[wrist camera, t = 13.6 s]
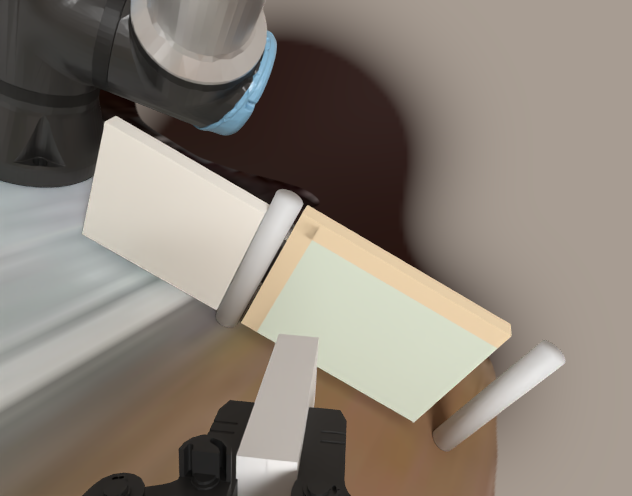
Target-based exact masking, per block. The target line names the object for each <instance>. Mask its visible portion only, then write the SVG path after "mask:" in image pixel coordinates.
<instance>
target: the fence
mask: <svg viewBox="0 0 632 496" xmlns="http://www.w3.org/2000/svg"><path fill="white" fill-rule="evenodd" d="M302 206H303V202H302V200H301V198H300V197H299V196H298V195H297V194H295V193H294V192H292V191H289V190H285V189H281V190H278V191H277V192H276V194H275V196H274V198H273V200H272V202H271V204H270V205H269V204H267V203H265V202H264V201H262V200H260V199H259V198H257V197H255V196H253V195H252V194H250V193H248V192H246V191H245V190H243V189H241V188H240V187H238V186H236V185H234V184H233V183H231V182H229V181H227V180H226V179H224V178H222V177H221V176H219V175H217V174H215V173H214V172H212V171H210V170H209V169H207V168H205V167H203V166H202V165H200V164H198V163H196V162H195V161H193V160H191V159H190V158H188V157H186V156H184V155H183V154H181V153H179V152H177V151H176V150H174V149H172V148H171V147H169V146H167V145H165V144H164V143H162V142H160V141H158V140H157V139H155V138H153V137H152V136H150V135H148V134H146V133H145V132H143V131H141V130H140V129H138V128H136V127H134V126H133V125H131V124H129V123H127V122H126V121H124V120H122V119H121V118H119V117H117V116H115V117H113V118H111V119H109V120H107V121H105V124H104V129H103V134H102V139H101V144H100V149H99V154H98V158H97V163H96V168H95V173H94V178H93V183H92V188H91V193H90V198H89V203H88V208H87V212H86V217H85V222H84V227H83V232H82V234H83V235H84V236H86V237H88V238H90V239H91V240H93V241H95V242H97V243H99V244H100V245H102V246H104V247H106V248H107V249H109V250H111V251H113V252H114V253H116V254H118V255H120V256H121V257H123V258H125V259H127V260H129V261H130V262H132V263H134V264H136V265H137V266H139V267H141V268H143V269H144V270H146V271H148V272H150V273H151V274H153V275H155V276H157V277H158V278H160V279H162V280H164V281H166V282H167V283H169V284H171V285H173V286H174V287H176V288H178V289H180V290H181V291H183V292H185V293H187V294H188V295H190V296H192V297H194V298H196V299H197V300H199V301H201V302H203V303H204V304H206V305H208V306H210V307H211V308H213V309H215V310H217V309H218V310H217V312H216V320H217V321H218V323H219V324H221V325H222V326H224V327H229V328H230V327H234V326H236V325H237V324H238V322H239V320H240V318H241V316H242V315H243V313H244V311H245V309H246V307H247V305H248V304H249V302H250V300H251V298H252V296H253V295H254V293H255V291H256V289H257V287H258V286H259V284H260V282H262V283H264V281H265V279H266V277H267V276H268V274H269V272H270V270H271V268H272V267H273V265H274V263H275V261H276V259H277V258H278V256H279V254H280V252H281V251H282V249H283V247H284V245H285V243H286V242H287V241H286V240H284V238H285V237H286V235H287V233H288V231H289V229H290V228H291V226H292V224H293V222H294V220H295V218H296V217H297V215H298V213H299V211H300V210H301V208H302ZM564 363H565V357H564V355H563V353H562V352H561V351H560V349H559V348H558V347H557V346H555V345H554V344H553V343H551V342H549V341H547V340H543V341H541V342H540V343H539V344H538V345H537V346H535V347H534V348H533V349H532V350H531V351H529V352H528V353H527V354H526V355H525V356H523V357H522V358H521V359H520V360H519V361H517V362H516V363H515V364H514V365H513V366H511V367H510V368H509V369H508V370H506V371H505V372H504V373H503V374H502V375H500V376H499V377H498V378H497V379H496V380H494V381H493V382H492V383H491V384H490V385H488V386H487V387H486V388H485V389H484V390H482V391H481V392H480V393H479V394H478V395H476V396H475V397H474V398H473V399H471V400H470V401H469V402H468V403H467V404H465V405H464V406H463V407H462V408H461V409H459V410H458V411H457V412H456V413H455V414H453V415H452V416H451V417H450V418H449V419H447V420H446V421H445V422H444V423H443V424H441V425H440V426H439V427H438V428H437V429H435V430H434V431H433V440H434V442H435V444H436V445H437V446H438V447H439V448H440V449H441V450H443V451H450V450H452V449H453V448H454V447H456V446H457V445H458V444H459V443H461V442H462V441H463V440H465V439H466V438H467V437H469V436H470V435H471V434H473V433H474V432H475V431H477V430H478V429H479V428H480V427H482V426H483V425H484V424H486V423H487V422H488V421H490V420H491V419H492V418H494V417H495V416H496V415H498V414H499V413H500V412H501V411H503V410H504V409H505V408H507V407H508V406H509V405H511V404H512V403H513V402H515V401H516V400H517V399H518V398H520V397H521V396H523V395H524V394H525V393H526V392H528V391H529V390H530V389H532V388H533V387H534V386H536V385H537V384H538V383H539V382H541V381H542V380H543V379H545V378H546V377H547V376H549V375H550V374H551V373H553V372H554V371H555V370H557V369H558V368H559V367H561V366H562V365H563V364H564Z"/></svg>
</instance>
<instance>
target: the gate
mask: <svg viewBox="0 0 632 496" xmlns="http://www.w3.org/2000/svg"><path fill="white" fill-rule="evenodd" d="M241 323H242V324H244V325H246V326H247V327H249V328H251V329H252V330H254V331H256V332H258V333H259V334H261V335H263V336H265V337H266V338H268V339H270V340H272V341H273V342H275V343H276V341H277V338H278V335H279V334H287V335H298V336H309V337H319V343H318V358H317V367H319V368H320V369H322V370H324V371H326V372H327V373H329V374H331V375H333V376H334V377H336V378H338V379H340V380H341V381H343V382H345V383H346V384H348V385H350V386H352V387H353V388H355V389H357V390H359V391H360V392H362V393H364V394H366V395H367V396H369V397H371V398H373V399H374V400H376V401H378V402H380V403H381V404H383V405H385V406H387V407H388V408H390V409H392V410H393V411H395V412H397V413H399V414H400V415H402V416H404V417H406V418H407V419H409V420H411V421H413V422H415V421H416V420H417V419H418V418H419V417H420V416H422V415H423V414H424V413H425V412H426V411H427V410H428V409H429V408H431V407H432V406H433V405H434V404H435V403H436V402H437V401H439V400H440V399H441V398H442V397H443V396H444V395H445V394H446V393H448V392H449V391H450V390H451V389H452V388H453V387H454V386H455V385H457V384H458V383H459V382H460V381H461V380H462V379H463V378H465V377H466V376H467V375H468V374H469V373H470V372H471V371H472V370H474V369H475V368H476V367H477V366H478V365H479V364H480V363H481V362H483V361H484V360H485V359H486V358H487V357H488V356H489V355H491V354H492V353H493V352H494V351H495V350H496V349H497V348H498V347H499V346H501V345H502V344H503V343H504V342H505V341H506V340H507V339H509V338H510V336H511V325H510V324H509V323H507V322H506V321H504V320H502V319H501V318H499V317H497V316H496V315H494V314H492V313H491V312H489V311H487V310H485V309H484V308H482V307H480V306H479V305H477V304H475V303H473V302H472V301H470V300H468V299H467V298H465V297H463V296H462V295H460V294H458V293H456V292H455V291H453V290H451V289H449V288H448V287H446V286H444V285H443V284H441V283H439V282H438V281H436V280H434V279H433V278H431V277H429V276H427V275H426V274H424V273H422V272H421V271H419V270H417V269H416V268H414V267H412V266H410V265H409V264H407V263H405V262H404V261H402V260H400V259H399V258H397V257H395V256H393V255H392V254H390V253H388V252H387V251H385V250H383V249H381V248H380V247H378V246H376V245H374V244H373V243H371V242H370V241H368V240H366V239H364V238H363V237H361V236H359V235H358V234H356V233H354V232H353V231H351V230H349V229H347V228H346V227H344V226H342V225H341V224H339V223H337V222H336V221H334V220H332V219H330V218H329V217H327V216H325V215H324V214H322V213H320V212H318V211H317V210H315V209H313V208H312V207H310V206H308V205H307V207H306V208H305V210H304V211H303V213H302V215H301V217H300V218H299V220H298V222H297V224H296V225H295V227H294V229H293V231H292V233H291V234H290V236H289V238H288V240H287V242H286V243H285V245H284V247H283V249H282V251H281V252H280V254H279V256H278V258H277V259H276V261H275V263H274V265H273V267H272V268H271V270H270V272H269V274H268V276H267V277H266V279H265V281H264V283H263V285H262V286H261V288H260V290H259V292H258V293H257V295H256V297H255V299H254V301H253V302H252V304H251V306H250V308H249V310H248V311H247V313H246V315H245V317H244V319H243V320H242V322H241Z"/></svg>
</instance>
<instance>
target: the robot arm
mask: <svg viewBox="0 0 632 496" xmlns="http://www.w3.org/2000/svg"><path fill="white" fill-rule="evenodd" d="M265 1H266V0H0V180H2V181H5V182H9V183H13V184H18V185H24V186H32V187H61V186H67V185H72V184H76V183H79V182H82V181H84V180H87V179H89V178H90V177H92V176H93V175H94V173H95V168H96V163H97V158H98V154H99V149H100V144H101V139H102V134H103V129H104V126H103V120H102V113H101V108H100V102H99V94H100V89H102V90H105V91H107V92H110V93H113V94H115V95H118V96H121V97H123V98H126V99H128V100H131V101H133V102H136V103H139V104H141V105H143V106H146V107H149V108H151V109H154V110H156V111H159V112H162V113H164V114H166V115H169V116H172V117H174V118H177V119H179V120H182V121H184V122H187V123H190V124H192V125H193V126H194V127H196V128H198V129H200V130H204V131H208V130H209V131H212V132H215V133H217V134H221V135H231V134H233V133H235V132H237V131H238V130H239V129H240V128H241V127H242V126H243V125H244V124H245V123H246V121H247V120H248V118H249V117H250V115H251V114H252V112H253V109H254V106H255V104H256V102H258V100H259V99H260V97H261V95H262V93H263V91H264V88H265V86H266V84H267V81H268V78H269V76H270V73H271V70H272V67H273V63H274V60H275V55H276V49H277V43H276V40H275V38H274V35H273V34H272V33H271V32H269V31H268V30H267V25H266V18H265V15H264V12H263V6H264V4H265ZM318 343H319V337H309V336H298V335H287V334H279V335H278V338H277V341H276V343H275V346H274V349H273V352H272V355H271V358H270V361H269V363H268V366H267V369H266V372H265V375H264V378H263V381H262V384H261V386H260V389H259V392H258V395H257V398H256V401H255V403H253V402H243V401H233V400H230V401H228V402H227V403H226V404H225V405H224V406H223V407H221V408H220V409H219V411H218V413H217V415H216V417H215V419H214V423H213V424H212V426H211V428H210V432H209V433H208V435H200V436H196V437H193V438H191V439H189V440H188V441H186V442H184V443H183V445H182V446H181V447H180V448H179V475H180V477H179V479H178V480H176V481H173V482H171V483H167V484H163V485H156V486H150V487H145V484H144V483H143V481H142V479H141V478H140V477H138V476H136V475H135V474H130V473H119V474H113V475H110V476H108V477H105V478H103V479H101V480H100V481H98V482H97V483H96V484H94V485H93V486H92V487H91V488H90V489H89V490H88V491H87V492H86V493H85V494H84V495H83V496H351V495H350V494H349V493H348V491H347V489H346V487H345V481H344V475H345V448H346V422H347V421H346V419H345V418H344V416H343V414H342V412H341V411H340V410H333V409H323V408H314V402H315V388H316V373H317V358H318Z"/></svg>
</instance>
